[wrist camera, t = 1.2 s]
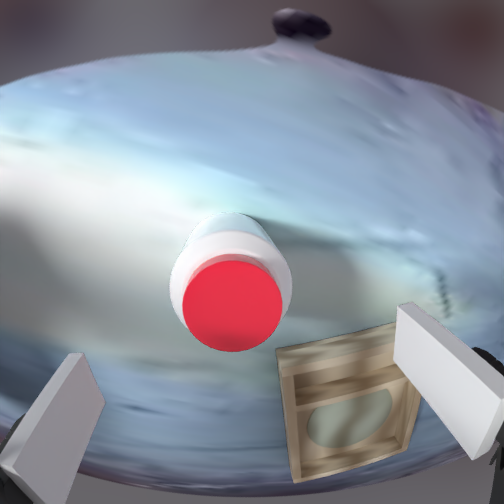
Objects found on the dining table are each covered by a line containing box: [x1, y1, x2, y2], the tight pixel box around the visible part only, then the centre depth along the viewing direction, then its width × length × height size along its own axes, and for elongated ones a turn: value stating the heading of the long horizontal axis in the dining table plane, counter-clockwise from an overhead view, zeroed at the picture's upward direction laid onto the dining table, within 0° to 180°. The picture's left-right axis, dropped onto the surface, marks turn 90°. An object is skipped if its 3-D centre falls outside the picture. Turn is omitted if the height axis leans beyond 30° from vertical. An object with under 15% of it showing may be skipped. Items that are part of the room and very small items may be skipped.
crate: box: [276, 322, 421, 483], centre depth 32 cm, size 16×20×4 cm
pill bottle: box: [169, 212, 293, 352], centre depth 22 cm, size 8×8×11 cm
